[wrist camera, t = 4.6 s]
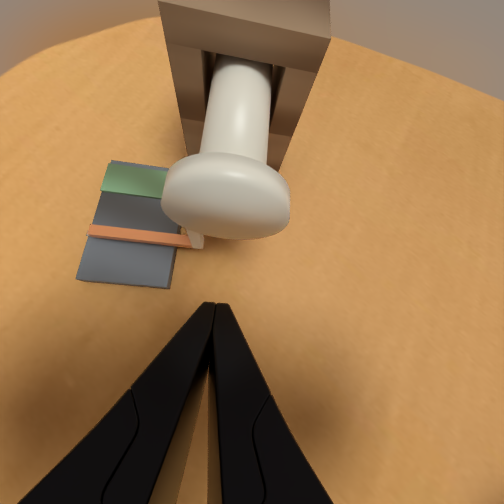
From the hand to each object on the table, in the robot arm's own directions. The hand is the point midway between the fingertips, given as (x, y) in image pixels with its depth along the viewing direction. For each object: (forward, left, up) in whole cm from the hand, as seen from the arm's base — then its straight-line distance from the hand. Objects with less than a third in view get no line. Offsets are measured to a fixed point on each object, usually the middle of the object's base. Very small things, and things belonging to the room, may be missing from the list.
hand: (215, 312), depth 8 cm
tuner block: (+3, +8, -7) cm, 11 cm away
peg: (+3, +9, -5) cm, 11 cm away
